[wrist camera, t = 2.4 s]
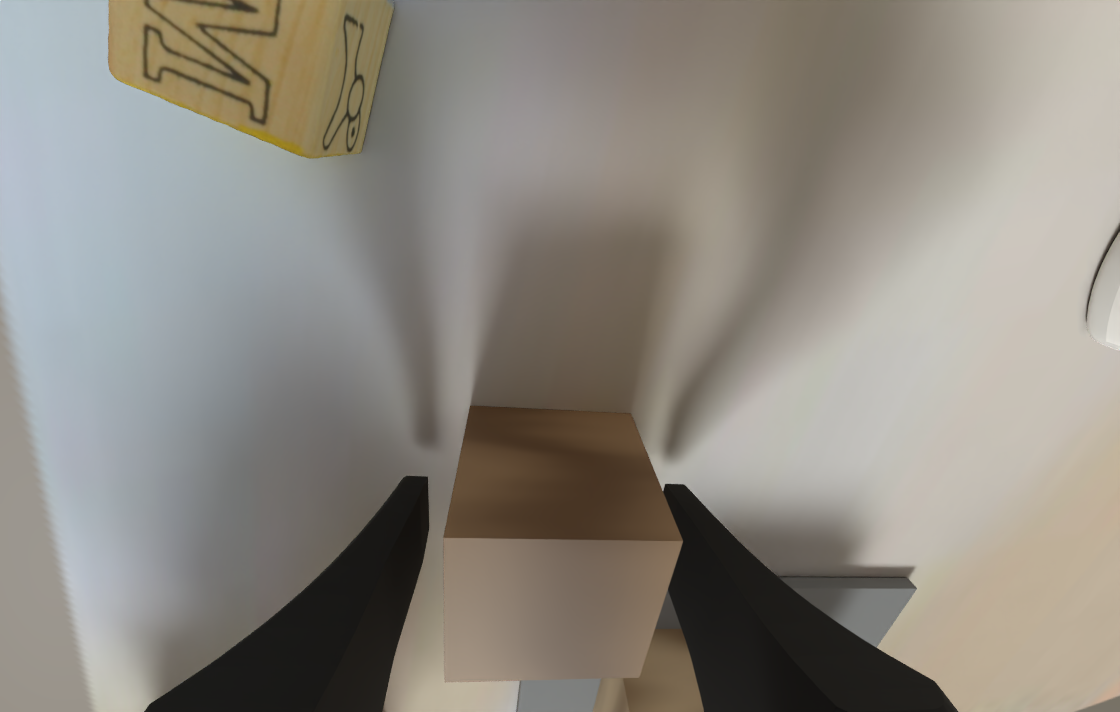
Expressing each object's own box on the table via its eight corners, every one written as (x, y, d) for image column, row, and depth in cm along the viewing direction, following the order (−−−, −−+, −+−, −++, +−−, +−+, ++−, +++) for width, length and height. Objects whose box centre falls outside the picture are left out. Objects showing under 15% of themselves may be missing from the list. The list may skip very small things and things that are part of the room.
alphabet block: (402, 6, 9) (348, -59, 6) (365, 158, 10) (306, 162, 7) (240, -80, 8) (94, -199, 5) (221, 95, 9) (93, 72, 6)
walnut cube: (467, 524, 15) (444, 682, 11) (470, 403, 13) (443, 537, 9) (606, 527, 16) (639, 677, 11) (630, 412, 14) (682, 541, 9)
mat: (510, 759, 22) (510, 771, 22) (532, 576, 16) (532, 588, 16) (795, 746, 24) (800, 757, 24) (907, 578, 18) (917, 588, 18)
